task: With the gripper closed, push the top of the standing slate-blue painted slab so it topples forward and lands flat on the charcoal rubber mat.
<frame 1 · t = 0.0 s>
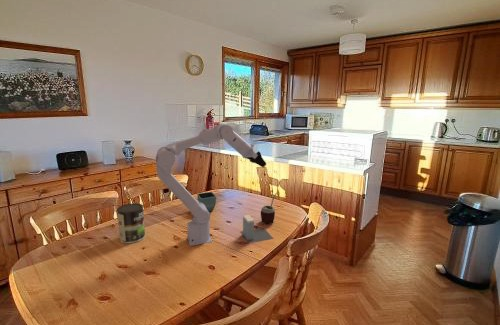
hand: (261, 163, 116), 32 cm above the table, tool tilted 50°, fingers open, 7 cm apart
coffee can: (132, 237, 114), on the table
mat: (256, 235, 117), on the table
mate gourd: (268, 222, 131), on the table
slab: (248, 236, 116), resting on mat
flower pot: (206, 210, 144), on the table
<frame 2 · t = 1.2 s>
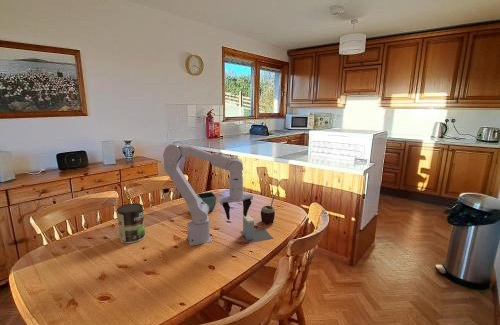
hand: (236, 217, 111), 11 cm above the table, tool pointing down, fingers open, 7 cm apart
nothing on the table moved.
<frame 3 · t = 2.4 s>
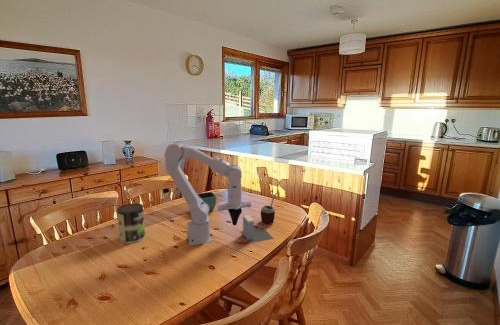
hand: (234, 224, 112), 7 cm above the table, tool pointing down, fingers closed
nothing on the table moved.
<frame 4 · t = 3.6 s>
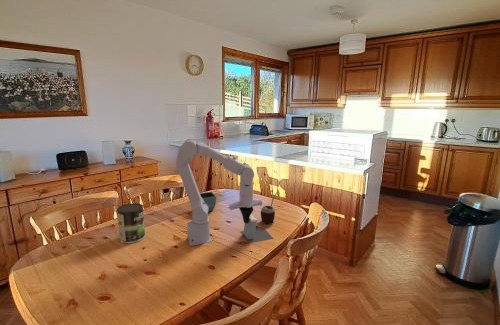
hand: (245, 222, 113), 7 cm above the table, tool pointing down, fingers closed
slab: (248, 236, 115), point 1 cm above the table, tilted 9°, touching mat
everything else where it was.
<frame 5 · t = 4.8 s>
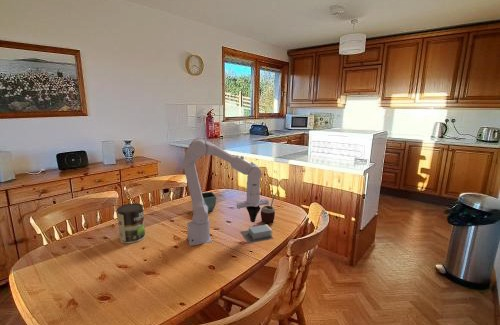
hand: (252, 221, 115), 7 cm above the table, tool pointing down, fingers closed
slab: (251, 233, 116), point 2 cm above the table, tilted 90°, touching mat
everything else where it was.
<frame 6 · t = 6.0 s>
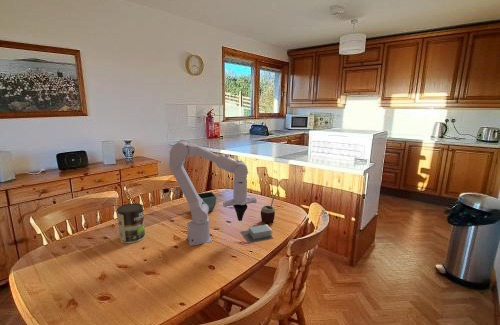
hand: (239, 220, 112), 9 cm above the table, tool pointing down, fingers closed
nothing on the table moved.
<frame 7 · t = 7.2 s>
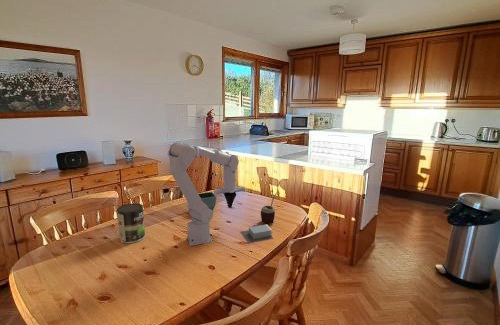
hand: (229, 207, 122), 10 cm above the table, tool pointing down, fingers closed
nothing on the table moved.
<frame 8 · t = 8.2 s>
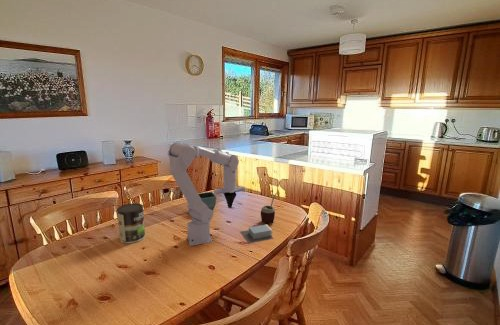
hand: (229, 207, 122), 10 cm above the table, tool pointing down, fingers closed
nothing on the table moved.
at the end: slab tilted 90°; slab inside the target area (3.0 cm from its centre), point 1.8 cm above the table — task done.
